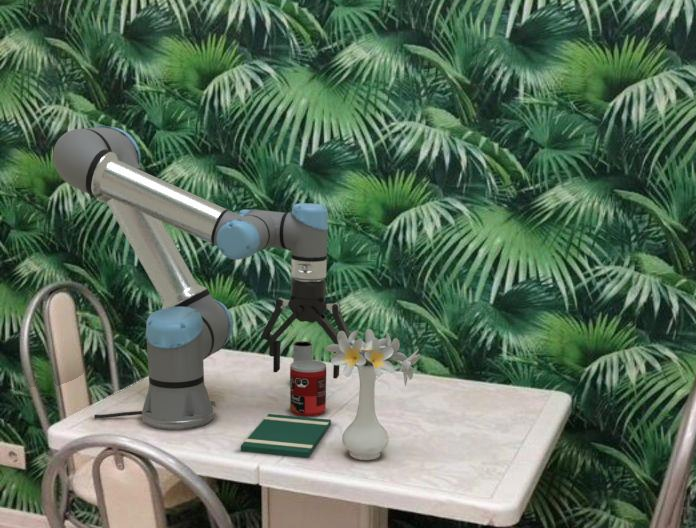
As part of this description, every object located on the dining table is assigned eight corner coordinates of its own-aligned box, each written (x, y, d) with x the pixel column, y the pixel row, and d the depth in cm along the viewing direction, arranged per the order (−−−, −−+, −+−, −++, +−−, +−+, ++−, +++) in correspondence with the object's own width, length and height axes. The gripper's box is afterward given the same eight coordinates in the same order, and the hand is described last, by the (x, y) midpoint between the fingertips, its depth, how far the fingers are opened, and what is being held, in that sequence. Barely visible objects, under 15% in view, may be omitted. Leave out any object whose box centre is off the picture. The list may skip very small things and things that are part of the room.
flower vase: (411, 470, 185) (418, 344, 175) (317, 462, 187) (319, 338, 177) (416, 446, 197) (423, 327, 187) (328, 439, 199) (330, 322, 189)
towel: (240, 451, 191) (240, 445, 191) (268, 418, 210) (268, 413, 209) (308, 458, 189) (308, 451, 188) (330, 424, 207) (330, 419, 207)
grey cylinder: (304, 380, 236) (304, 340, 232) (315, 385, 233) (316, 344, 229) (289, 383, 233) (289, 343, 230) (300, 388, 230) (300, 347, 226)
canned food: (286, 407, 217) (286, 361, 213) (319, 404, 219) (320, 358, 215) (295, 418, 210) (295, 370, 206) (330, 415, 213) (331, 368, 209)
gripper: (247, 277, 202) (247, 372, 210) (362, 287, 198) (358, 384, 206) (257, 270, 209) (257, 363, 217) (369, 280, 205) (364, 374, 213)
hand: (306, 373), depth 212 cm, fingers open, 13 cm apart
